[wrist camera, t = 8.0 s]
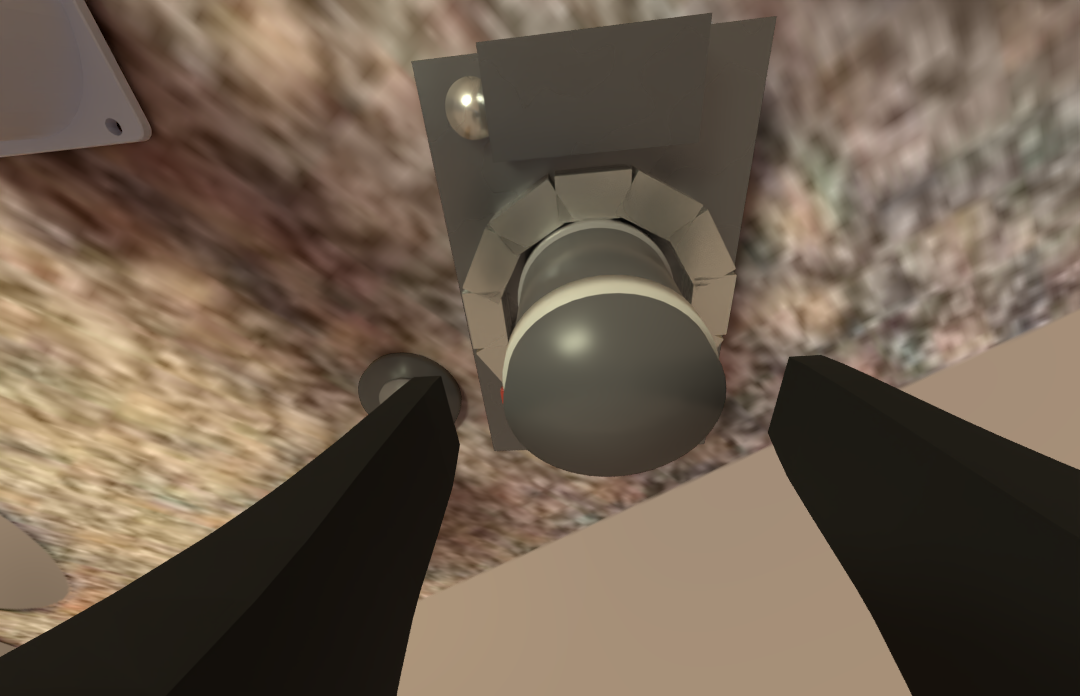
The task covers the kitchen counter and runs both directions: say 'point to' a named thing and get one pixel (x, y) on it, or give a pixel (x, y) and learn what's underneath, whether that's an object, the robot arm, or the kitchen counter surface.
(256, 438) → the kitchen counter surface
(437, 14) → the kitchen counter surface
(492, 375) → the camera body
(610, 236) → the lens
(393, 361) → the lens cap
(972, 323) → the kitchen counter surface
